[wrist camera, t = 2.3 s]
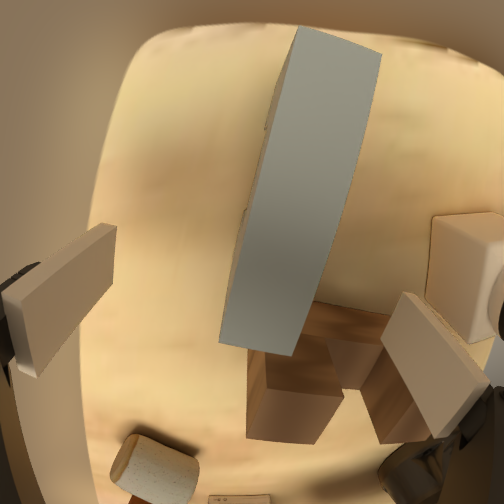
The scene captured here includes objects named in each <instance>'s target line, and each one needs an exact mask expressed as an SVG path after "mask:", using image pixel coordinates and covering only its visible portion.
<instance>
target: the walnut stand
mask: <svg viewBox="0 0 504 504" xmlns="http://www.w3.org/2000/svg"><path fill="white" fill-rule="evenodd" d="M390 318H391V316H389V315H384V314H378V313H373V312H367V311H362V310H357V309H351V308H346V307H341V306H336V305H331V304H326V303H321V302H316V301H312V304H311V307H310V310H309V312H308V315H307V318H306V320H305V323H304V326H303V328H302V331H301V333H300V336H299V339H298V341H297V344H296V346H295V349H294V351H293V354H292V356H286V355H280V354H274V353H268V352H263V351H258V350H252V349H248V359H247V412H246V438H248V439H256V440H264V441H273V442H283V443H296V444H313V445H314V444H315V442H316V441H317V439H318V438H319V436H320V435H321V434H322V432H323V430H324V429H325V427H326V426H327V424H328V423H329V421H330V420H331V418H332V417H333V415H334V413H335V412H336V410H337V409H338V407H339V405H340V404H341V402H342V400H343V399H344V395H343V392H342V389H341V388H343V389H355V390H360V392H361V394H362V397H363V400H364V402H365V405H366V407H367V410H368V413H369V415H370V418H371V421H372V423H373V426H374V429H375V431H376V434H377V437H378V440H379V442H380V444H395V443H408V442H418V441H425V440H426V439H427V438H428V437H429V436H430V435H431V431H430V429H429V427H428V425H427V424H426V422H425V420H424V418H423V416H422V414H421V412H420V410H419V408H418V406H417V404H416V402H415V400H414V399H413V397H412V395H411V393H410V391H409V389H408V387H407V386H406V384H405V382H404V380H403V378H402V376H401V375H400V373H399V371H398V369H397V367H396V366H395V364H394V362H393V360H392V359H391V357H390V355H389V353H388V352H387V350H386V348H385V346H384V345H383V343H382V341H381V339H380V338H381V336H382V334H383V332H384V330H385V328H386V326H387V324H388V322H389V320H390Z"/></svg>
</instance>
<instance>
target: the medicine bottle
mask: <svg viewBox="0 0 504 504" xmlns="http://www.w3.org/2000/svg"><path fill="white" fill-rule="evenodd" d="M425 299H426V300H427V301H428V302H429V303H430V304H431V305H432V307H433V308H434V309H435V310H436V311H437V312H438V313H439V314H440V315H441V316H442V317H443V318H444V319H445V320H446V321H447V322H448V323H449V324H450V325H451V326H452V327H453V329H454V330H455V331H456V332H457V333H458V334H459V335H460V336H461V337H462V338H463V339H464V340H465V342H466V343H467V344H473V343H476V342H479V341H481V340H484V339H487V338H490V337H493V336H495V335H498V336H499V337H500V338H501V339H502V340H503V341H504V216H502V215H499V214H497V213H494V212H484V213H471V214H458V215H446V216H435V217H433V219H432V232H431V248H430V260H429V270H428V279H427V288H426V295H425Z"/></svg>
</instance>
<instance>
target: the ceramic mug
mask: <svg viewBox="0 0 504 504" xmlns="http://www.w3.org/2000/svg"><path fill="white" fill-rule="evenodd" d="M199 469H200V467H199V462H198V460H197V459H195V458H193V457H190V456H188V455H185V454H183V453H181V452H178V451H176V450H174V449H172V448H169V447H167V446H164V445H162V444H160V443H158V442H156V441H154V440H152V439H150V438H148V437H145V436H142V435H139V434H132V435H130V436H129V437H128V438H127V439H126V440H125V442H124V443H123V445H122V447H121V448H120V450H119V452H118V454H117V456H116V458H115V460H114V462H113V465H112V468H111V471H110V479H111V481H112V482H113V483H115V484H116V485H117V486H119V487H120V488H121V489H123V490H125V491H127V492H129V493H131V494H133V495H135V496H137V497H139V498H141V499H143V500H145V501H148V502H150V503H152V504H187V503H188V502H189V500H190V498H191V496H192V495H193V493H194V491H195V488H196V485H197V482H198V477H199Z"/></svg>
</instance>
